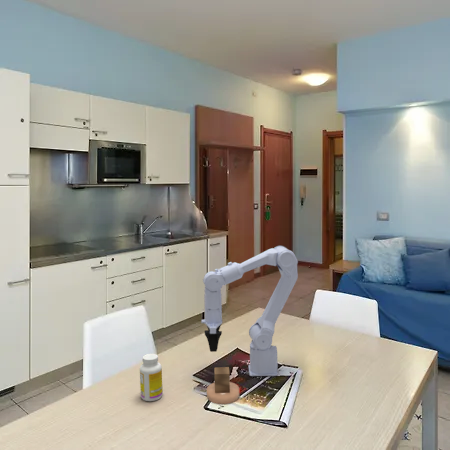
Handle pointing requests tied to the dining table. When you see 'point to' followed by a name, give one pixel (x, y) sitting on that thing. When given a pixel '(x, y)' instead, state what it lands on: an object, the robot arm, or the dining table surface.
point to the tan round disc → (223, 394)
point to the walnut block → (222, 380)
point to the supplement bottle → (151, 378)
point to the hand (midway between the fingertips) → (213, 346)
